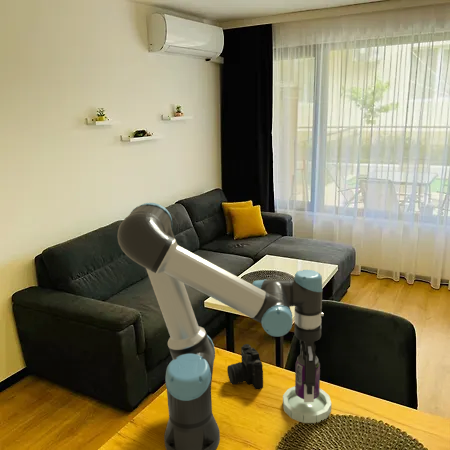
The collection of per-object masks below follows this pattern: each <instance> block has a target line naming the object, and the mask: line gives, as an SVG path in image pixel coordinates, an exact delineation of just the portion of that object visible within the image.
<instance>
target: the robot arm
mask: <svg viewBox="0 0 450 450" xmlns="http://www.w3.org/2000/svg"><path fill="white" fill-rule="evenodd" d="M116 237H117V242H118V245H119V247H120V249H121V251H122V252H123V253H124V254H125V255H126V256H127V257H128V258H129V259H131V260H132V261H133V262H134V263H137V264H138V265H139V266H141V267H143V268H145V270H146V272H147V276H148V278H149V281H150V284H151V286H152V289H153V292H154V295H155V297H156V301H157V303H158V307H159V308H160V311H161V313H162V317H163V320H164V322H165V326H166V329H167V331H168V334H169V336H170V337H169V338H168V341H167V346H168V350H169V352H170V355H171V358H172V360H170V362H169V364H168V365H167V367H166V369H165V370H166V371H165V379H164V380H165V381H164V382H165V387H166V394H167V395H166V396H167V406H168V407H167V409H168V416H169V417H168V421H167V424H166V428H165V431H164V438H163V439H164V447H165V450H217V449H218V446H219V444H220V441H221V440H220V438H221V435H220V429H219V425H218V423H217V420H216V419H215V415H214V414H213V405H212V404H213V403H212V402H213V401H212V381H213V373H214V372H213V371H214V362H215V359H216V348H215V344H214V343H213V340H212V338H211V337H210V336H209V335H208V334H207V332H206V330H205V328H204V327H202V326H199V324H198V321H197V318H196V315H195V311H194V310H193V307H192V303H191V300H190V297H189V294H188V291H187V289H186V286H185V285H187V286H189V287H191V288H193V289H194V290H196V291H199V292H200V293H203V294H205V295H207V296H208V297H210V298H212V299H214V300H215V301H218V302H219V303H222V304H224V305H225V306H227V307H229V308H231V309H234V310H236V311H237V312H239V313H240V314H243V315H244V316H246V317H249V318H251V319H253V320H254V321H256V322H258V323H260V324H261V327H262V328H263V330H264V331H265V332H266V334H268V335H269V336H271V337H283V336H285V335H287V334H288V333H290V331H291V329H292V327H293V321H294V336H295V338H297V339H298V340H299V344H300V345H299V346H300V354H302V357H303V359H304V364H305V381H302V383H303V384H304V402H314V386H315V385H316V384H315V357H316V356H317V355H316V349H317V348H316V343H315V342H316V341H318V340H320V339H321V337H322V317H324V312H322V309H323V305H322V304H323V278H322V275H321V274H320V272H318V271H316V270H312V269H303V270H298V271H297V272H295V274H294V277H293V278H291V279H290V278H289V279H266V278H264V279H259V280H254V281H253V282H252V283H250V282H249V281H246V280H245V279H244V278H241V277H239V276H237V275H235V274H233V273H232V272H229V271H228V270H225V269H224V268H222V267H220V266H218V265H216V264H214V263H213V262H210V261H209V260H207V259H205V258H203V257H201V256H200V255H197V254H196V253H193V252H191V251H190V250H188V249H186V248H184V247H183V246H180V245H179V244H178V243H177V240H176V238H175V235H174V232H173V219H172V215H171V213H170V211H168V209H167V208H166V207H165V206H164V205H161V204H159V203H156V202H145V203H143V204H139V205H138V206H136V207H135V208H133V209H132V211H131V212H130V213H129V214H128V215H127V216H126V217H125V218H124V219H123V220H122V221H121V223H120V224H119V225H118V230H117V236H116ZM291 307H294V320H293V312H292V309H291ZM300 354H299V355H300ZM305 355H306V356H305Z"/></svg>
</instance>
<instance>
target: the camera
mask: <svg viewBox="0 0 450 450" xmlns="http://www.w3.org/2000/svg"><path fill="white" fill-rule="evenodd" d="M240 352H241V354H240V356H241V361H240V362H239V361H238V362H236V363H232V364H230V365H228V366H227V376H228V379H229V380H228V381H229V383H230V384H231V385H239V384H242V383H246V384H247V385H252V386H253V388H254V389H255V390H256V391H257V390H258V391H259V390H261V389H263V388H264V369H263V366H264V365H263V362H262V361H261V357H260V353H259V352H258V351H257V350H256V348H255V347H252V346H251V345H250V344H249V343H246V344H243V345H242V346H241V349H240Z"/></svg>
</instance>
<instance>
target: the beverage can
mask: <svg viewBox="0 0 450 450" xmlns="http://www.w3.org/2000/svg"><path fill="white" fill-rule="evenodd" d="M305 356H306V355H305ZM294 364H295V367H294V369H295V371H294V372H295V373H294V375H295V378H294V379H295V381H294V382H295V383H294V386H295V393H296V395H297V396H298V397H300V398H302V399H304V384H303V383H302V381H305V364H304V359H303V357H302V354H299V355H298V356H297V357H296V362H295V363H294ZM320 368H321V363H320V361H319V358H318V356H317V355H316V357H315V384H316V385H315V386H314V399H315V398H317V397H318V396H319V390H320V389H321V388H320V382H321V381H320V380H321V377H320V376H321V369H320Z"/></svg>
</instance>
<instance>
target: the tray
mask: <svg viewBox="0 0 450 450" xmlns="http://www.w3.org/2000/svg"><path fill="white" fill-rule="evenodd" d="M282 407H283V412H285V414H286V415H288V416H289V418H291V420H293V421H294V420H295V421H297V422H299V423H302V424H317V423H320V422H321V420H322V421H325V420H327V419H328V417H329V415H330V414H331V412H332V401H331V396H330V395H329V394H328V393H327V392H326V391H325V390H323V389H322V388H320V390H319V396H318V397H317V398H315V399H314V402H304V399H302V398H300V397H298V396H297V395H296V393H295V385H294V386H292V387H289V388H287V389H286V391H285V392H284V393H283V395H282ZM324 419H325V420H324ZM316 422H317V423H316Z"/></svg>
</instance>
